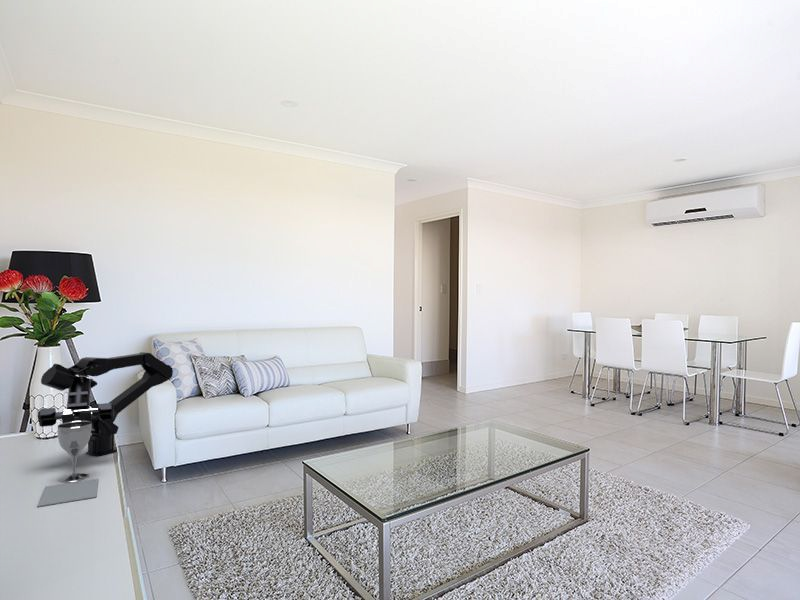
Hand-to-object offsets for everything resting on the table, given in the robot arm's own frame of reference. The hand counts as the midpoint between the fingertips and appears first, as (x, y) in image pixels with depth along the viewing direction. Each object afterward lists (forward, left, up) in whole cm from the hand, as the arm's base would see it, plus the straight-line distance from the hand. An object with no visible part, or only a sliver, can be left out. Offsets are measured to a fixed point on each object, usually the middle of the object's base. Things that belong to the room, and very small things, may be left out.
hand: (75, 439), depth 139 cm
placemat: (+10, +14, -9) cm, 20 cm away
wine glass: (+3, +5, -10) cm, 11 cm away
